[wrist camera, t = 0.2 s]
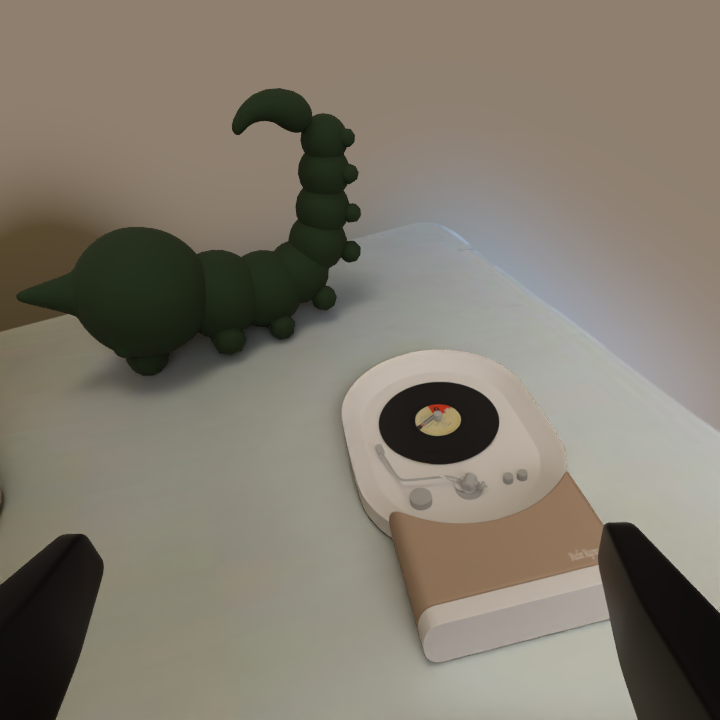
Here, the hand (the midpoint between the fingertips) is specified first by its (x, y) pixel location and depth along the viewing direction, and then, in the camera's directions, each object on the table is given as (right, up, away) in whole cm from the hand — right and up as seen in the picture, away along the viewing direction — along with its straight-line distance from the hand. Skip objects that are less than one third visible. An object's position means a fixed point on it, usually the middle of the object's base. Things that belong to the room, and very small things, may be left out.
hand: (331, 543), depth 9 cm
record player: (+6, -3, +22) cm, 23 cm away
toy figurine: (-10, +5, +36) cm, 38 cm away
